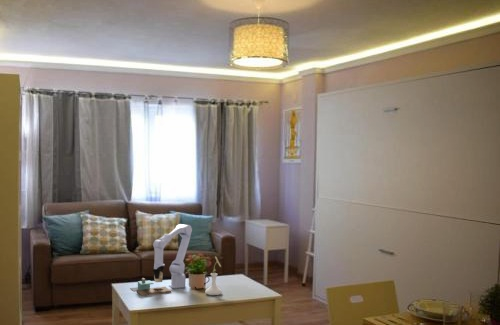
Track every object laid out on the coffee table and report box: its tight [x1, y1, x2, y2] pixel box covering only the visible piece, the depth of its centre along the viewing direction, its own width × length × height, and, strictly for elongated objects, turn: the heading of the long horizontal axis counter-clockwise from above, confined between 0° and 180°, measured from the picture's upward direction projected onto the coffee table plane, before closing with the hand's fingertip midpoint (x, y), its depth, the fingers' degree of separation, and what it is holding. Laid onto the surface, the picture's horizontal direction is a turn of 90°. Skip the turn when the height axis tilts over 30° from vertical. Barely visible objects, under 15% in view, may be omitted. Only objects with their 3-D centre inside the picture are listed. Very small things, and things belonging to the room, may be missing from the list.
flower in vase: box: [204, 256, 223, 296], centre depth 344 cm, size 13×11×25 cm
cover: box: [137, 277, 155, 290], centre depth 342 cm, size 8×8×8 cm
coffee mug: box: [204, 273, 210, 285], centre depth 359 cm, size 12×9×10 cm
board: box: [136, 286, 172, 297], centre depth 345 cm, size 20×12×2 cm, turn 119°
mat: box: [129, 286, 138, 292], centre depth 352 cm, size 10×8×1 cm
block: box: [153, 272, 164, 283], centre depth 347 cm, size 4×4×6 cm
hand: (158, 277), depth 347 cm, fingers closed on block, 6 cm apart
